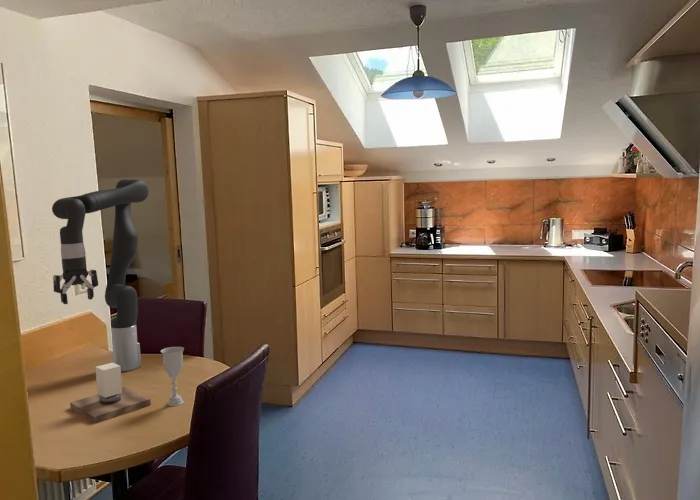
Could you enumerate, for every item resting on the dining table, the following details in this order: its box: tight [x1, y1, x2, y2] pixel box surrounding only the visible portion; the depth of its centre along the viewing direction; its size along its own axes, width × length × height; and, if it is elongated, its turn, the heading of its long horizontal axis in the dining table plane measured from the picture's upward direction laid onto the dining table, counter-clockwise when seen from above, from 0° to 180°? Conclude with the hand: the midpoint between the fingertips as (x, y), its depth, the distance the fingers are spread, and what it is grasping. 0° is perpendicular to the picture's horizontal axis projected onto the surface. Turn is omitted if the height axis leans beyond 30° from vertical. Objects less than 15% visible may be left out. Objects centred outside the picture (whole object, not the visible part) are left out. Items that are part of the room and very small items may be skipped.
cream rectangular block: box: [94, 362, 123, 398], centre depth 175 cm, size 6×6×9 cm
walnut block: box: [69, 386, 151, 424], centre depth 176 cm, size 18×18×2 cm
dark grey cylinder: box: [99, 393, 121, 404], centre depth 175 cm, size 6×6×10 cm
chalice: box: [160, 346, 185, 407], centre depth 177 cm, size 7×7×18 cm
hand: (78, 301), depth 190 cm, fingers open, 8 cm apart
